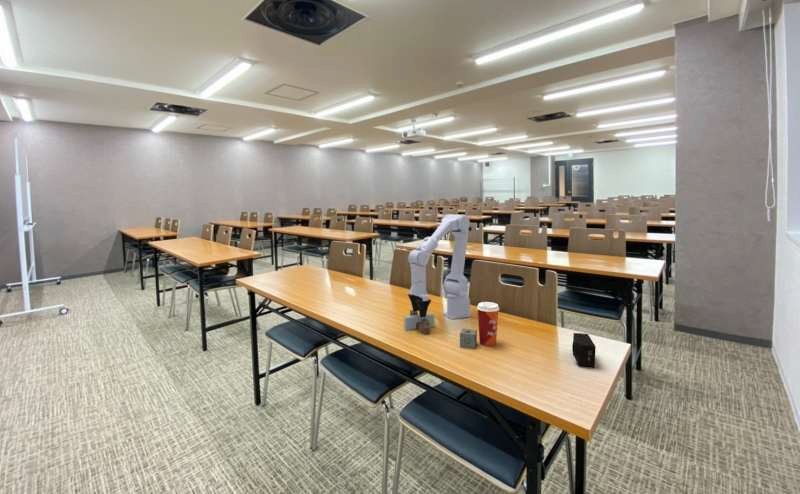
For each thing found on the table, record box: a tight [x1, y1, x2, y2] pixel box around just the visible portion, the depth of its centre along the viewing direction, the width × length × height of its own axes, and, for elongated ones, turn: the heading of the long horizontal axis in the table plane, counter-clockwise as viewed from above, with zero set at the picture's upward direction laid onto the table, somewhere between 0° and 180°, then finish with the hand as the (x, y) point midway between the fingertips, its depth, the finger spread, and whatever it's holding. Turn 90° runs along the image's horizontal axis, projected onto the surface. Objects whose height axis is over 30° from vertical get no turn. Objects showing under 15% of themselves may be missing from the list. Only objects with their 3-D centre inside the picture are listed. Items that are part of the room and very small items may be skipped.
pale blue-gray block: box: [403, 312, 435, 331], centre depth 145 cm, size 12×2×5 cm, turn 108°
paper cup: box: [476, 301, 500, 347], centre depth 128 cm, size 8×8×14 cm
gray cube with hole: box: [459, 327, 478, 350], centre depth 127 cm, size 5×5×5 cm
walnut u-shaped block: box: [409, 309, 430, 336], centre depth 145 cm, size 16×2×5 cm, turn 18°
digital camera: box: [571, 332, 597, 369], centre depth 113 cm, size 10×5×7 cm, turn 164°
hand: (419, 313), depth 144 cm, fingers open, 7 cm apart
